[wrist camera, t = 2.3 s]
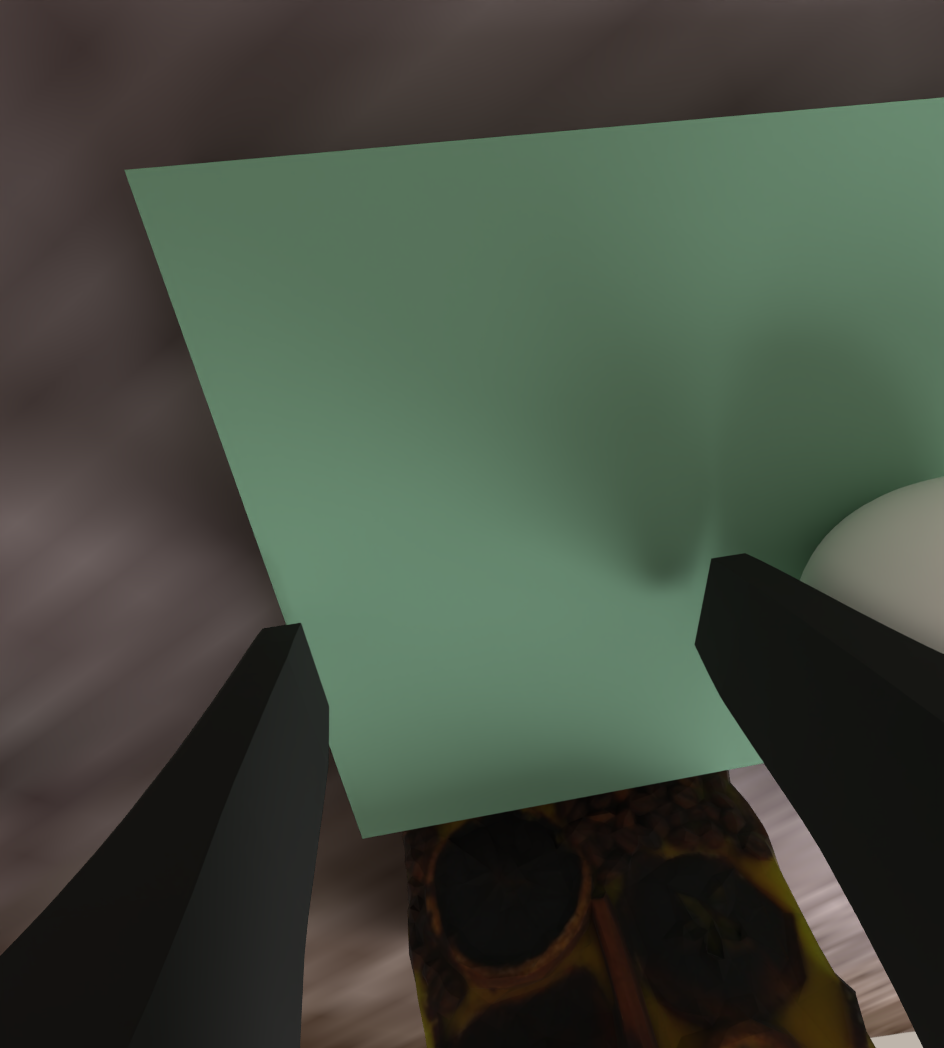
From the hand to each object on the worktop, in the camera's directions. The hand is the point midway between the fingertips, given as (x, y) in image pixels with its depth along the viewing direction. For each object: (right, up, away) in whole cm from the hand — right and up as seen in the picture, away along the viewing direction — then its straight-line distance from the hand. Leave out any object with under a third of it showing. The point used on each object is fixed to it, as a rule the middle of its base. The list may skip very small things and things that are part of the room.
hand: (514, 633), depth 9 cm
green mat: (+8, +3, +3) cm, 9 cm away
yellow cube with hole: (+3, -10, +10) cm, 14 cm away
